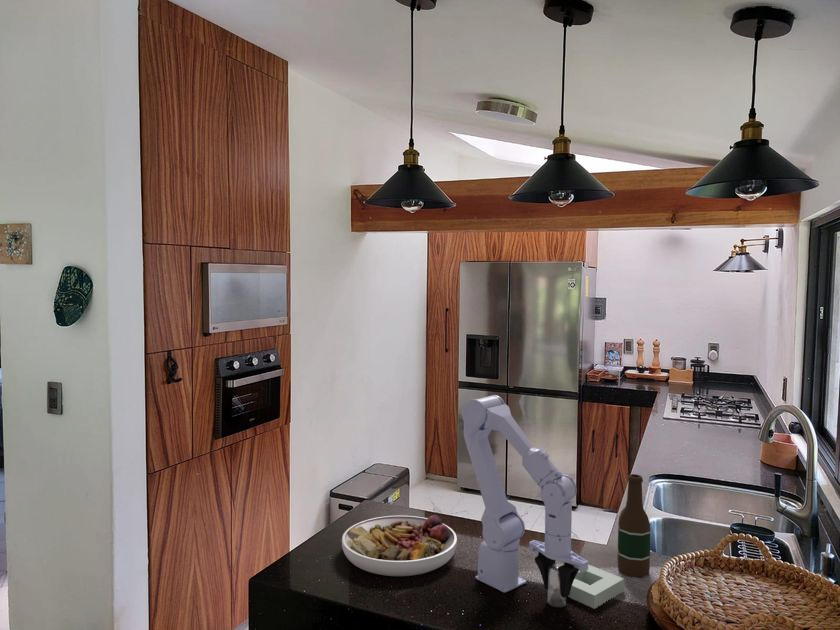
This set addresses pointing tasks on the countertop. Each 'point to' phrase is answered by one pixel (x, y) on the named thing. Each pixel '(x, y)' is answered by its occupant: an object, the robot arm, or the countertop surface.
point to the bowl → (399, 545)
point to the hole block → (595, 587)
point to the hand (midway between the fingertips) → (557, 591)
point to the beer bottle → (634, 533)
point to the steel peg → (555, 586)
